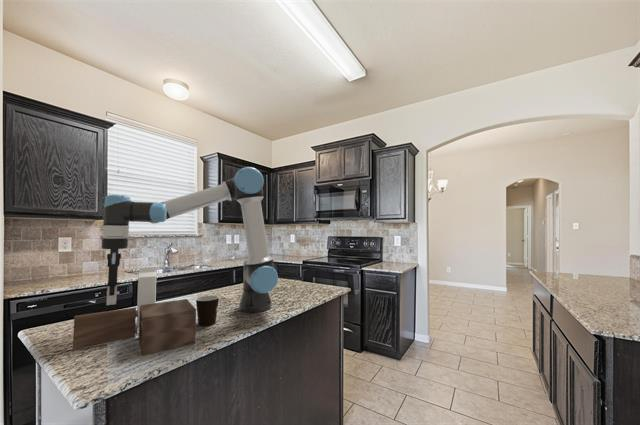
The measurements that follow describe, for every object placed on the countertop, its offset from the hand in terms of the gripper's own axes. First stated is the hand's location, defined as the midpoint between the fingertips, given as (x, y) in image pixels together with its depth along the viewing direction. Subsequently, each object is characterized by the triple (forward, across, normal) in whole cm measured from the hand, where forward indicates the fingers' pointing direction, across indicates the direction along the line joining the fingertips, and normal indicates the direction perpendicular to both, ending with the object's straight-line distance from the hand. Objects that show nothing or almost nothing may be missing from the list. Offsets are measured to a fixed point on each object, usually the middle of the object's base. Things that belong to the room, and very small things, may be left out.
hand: (111, 304), depth 97 cm
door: (+11, +7, 0) cm, 13 cm away
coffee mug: (+11, +6, +32) cm, 35 cm away
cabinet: (+11, +16, +16) cm, 25 cm away
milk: (+11, -8, +11) cm, 18 cm away
